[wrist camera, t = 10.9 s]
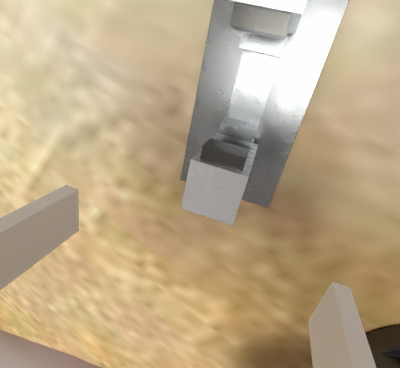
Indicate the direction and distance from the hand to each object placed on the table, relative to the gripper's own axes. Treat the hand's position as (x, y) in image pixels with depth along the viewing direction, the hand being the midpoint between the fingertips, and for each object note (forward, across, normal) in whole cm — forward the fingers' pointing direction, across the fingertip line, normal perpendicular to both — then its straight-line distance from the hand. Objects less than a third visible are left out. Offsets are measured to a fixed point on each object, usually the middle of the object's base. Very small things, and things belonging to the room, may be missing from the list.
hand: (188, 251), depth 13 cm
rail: (+15, 0, +7) cm, 17 cm away
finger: (+14, 0, +1) cm, 14 cm away
